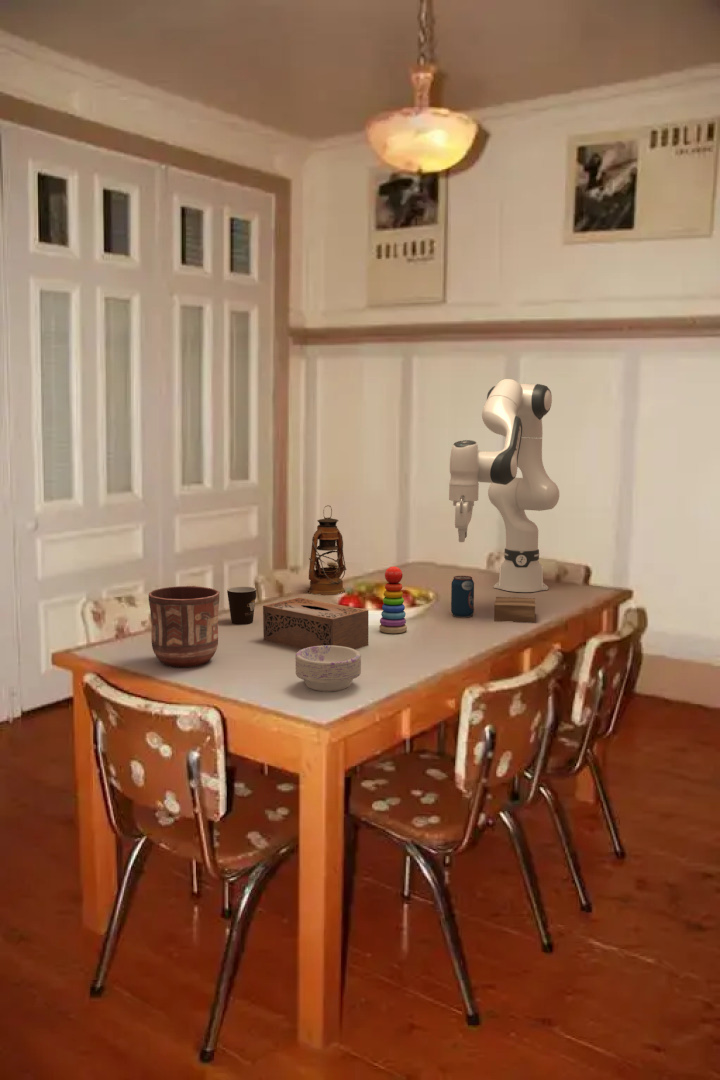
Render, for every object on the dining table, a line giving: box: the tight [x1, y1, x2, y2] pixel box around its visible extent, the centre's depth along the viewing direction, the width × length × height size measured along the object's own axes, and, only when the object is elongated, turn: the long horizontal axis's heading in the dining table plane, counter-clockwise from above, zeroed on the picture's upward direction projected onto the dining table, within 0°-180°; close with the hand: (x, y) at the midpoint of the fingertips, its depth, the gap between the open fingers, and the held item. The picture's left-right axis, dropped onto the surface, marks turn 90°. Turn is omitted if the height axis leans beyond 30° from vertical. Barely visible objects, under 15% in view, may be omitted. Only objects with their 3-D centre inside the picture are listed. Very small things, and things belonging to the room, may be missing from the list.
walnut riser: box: [493, 596, 536, 624], centre depth 298 cm, size 12×12×5 cm
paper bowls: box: [294, 645, 362, 692], centre depth 227 cm, size 15×15×8 cm
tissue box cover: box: [262, 597, 369, 650], centre depth 267 cm, size 26×14×10 cm, turn 50°
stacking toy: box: [378, 566, 408, 635], centre depth 279 cm, size 8×8×19 cm
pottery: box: [148, 585, 220, 668], centre depth 247 cm, size 18×18×18 cm
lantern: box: [307, 505, 347, 596], centre depth 336 cm, size 17×13×30 cm
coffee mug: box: [226, 586, 257, 626], centre depth 292 cm, size 12×9×10 cm
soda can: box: [450, 575, 475, 618], centre depth 300 cm, size 7×7×12 cm
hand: (462, 539), depth 297 cm, fingers open, 8 cm apart
